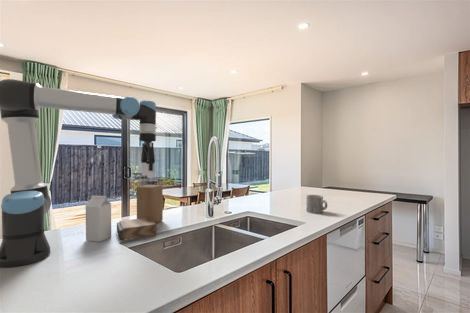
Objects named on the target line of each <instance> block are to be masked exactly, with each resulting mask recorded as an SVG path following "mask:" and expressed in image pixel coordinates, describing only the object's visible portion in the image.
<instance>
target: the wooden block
mask: <svg viewBox="0 0 470 313" xmlns="http://www.w3.org/2000/svg"><path fill="white" fill-rule="evenodd" d="M163 200H164V198H163V185H161V184H144V185H138V186H137V187H136V219H141V218H149V217H150V218H151V219H152V221H153V222H154V223H155V224H158V223H161V222H163V215H164V214H163V212H164V211H163V203H164V202H163Z"/></svg>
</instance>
